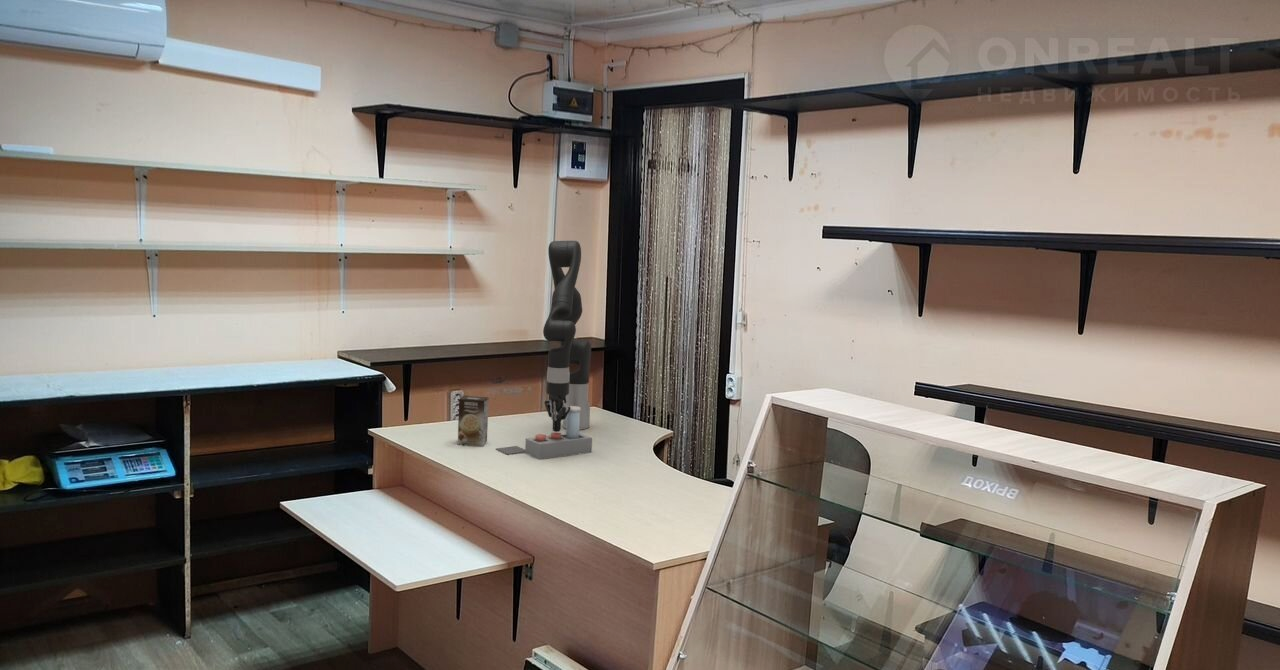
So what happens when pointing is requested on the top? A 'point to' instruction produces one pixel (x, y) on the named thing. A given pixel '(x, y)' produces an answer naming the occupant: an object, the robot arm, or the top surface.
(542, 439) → the plunger
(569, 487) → the top surface
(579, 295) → the robot arm
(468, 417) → the coffee box
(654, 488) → the top surface
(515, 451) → the mat
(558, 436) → the plunger
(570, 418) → the cartridge
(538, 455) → the housing
